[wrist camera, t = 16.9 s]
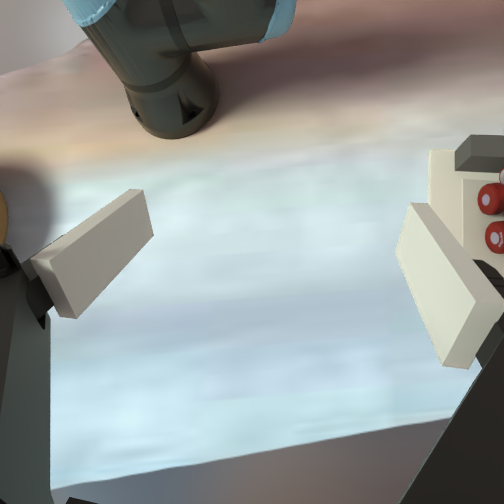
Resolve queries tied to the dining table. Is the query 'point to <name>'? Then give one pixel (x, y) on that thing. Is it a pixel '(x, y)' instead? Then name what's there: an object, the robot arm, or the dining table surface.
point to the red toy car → (493, 213)
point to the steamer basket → (3, 219)
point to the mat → (462, 205)
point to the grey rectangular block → (480, 154)
